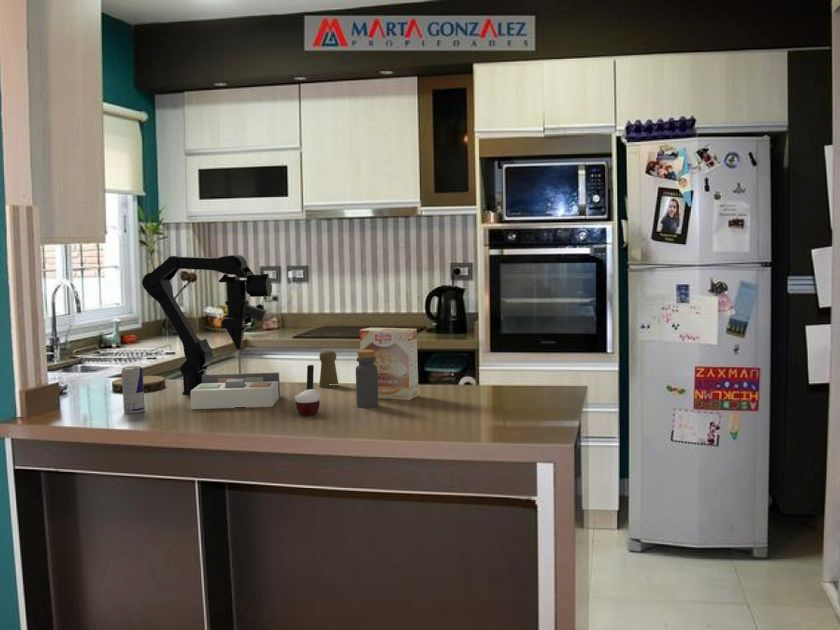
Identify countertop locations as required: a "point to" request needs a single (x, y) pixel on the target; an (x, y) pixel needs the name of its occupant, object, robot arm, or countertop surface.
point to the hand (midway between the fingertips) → (238, 349)
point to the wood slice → (148, 382)
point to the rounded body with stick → (308, 396)
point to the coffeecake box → (393, 360)
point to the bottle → (366, 380)
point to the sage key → (210, 386)
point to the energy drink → (133, 389)
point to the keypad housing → (236, 391)
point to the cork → (328, 369)
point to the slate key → (235, 383)
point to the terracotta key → (260, 385)
